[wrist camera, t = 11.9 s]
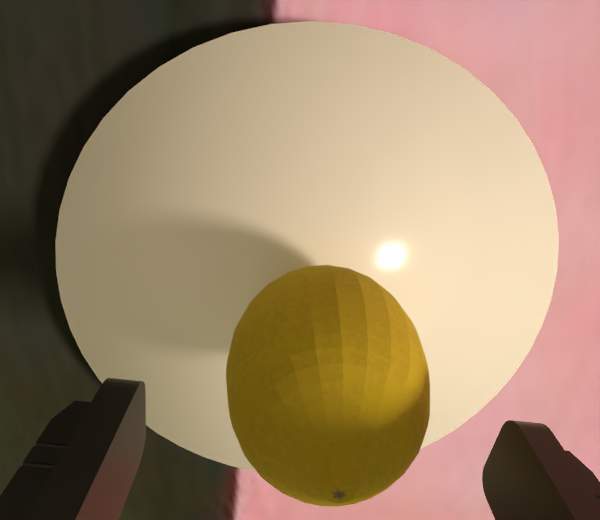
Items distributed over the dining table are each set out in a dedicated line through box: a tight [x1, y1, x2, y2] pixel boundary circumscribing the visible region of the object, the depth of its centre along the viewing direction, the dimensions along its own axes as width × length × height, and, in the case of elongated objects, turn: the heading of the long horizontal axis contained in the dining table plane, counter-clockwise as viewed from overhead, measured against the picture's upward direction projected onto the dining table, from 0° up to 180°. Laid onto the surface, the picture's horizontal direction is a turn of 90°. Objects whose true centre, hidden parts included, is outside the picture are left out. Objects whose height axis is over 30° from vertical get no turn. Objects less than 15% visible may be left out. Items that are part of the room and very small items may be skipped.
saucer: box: [55, 21, 559, 471], centre depth 17 cm, size 18×18×1 cm
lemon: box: [226, 265, 430, 506], centre depth 12 cm, size 6×6×8 cm
